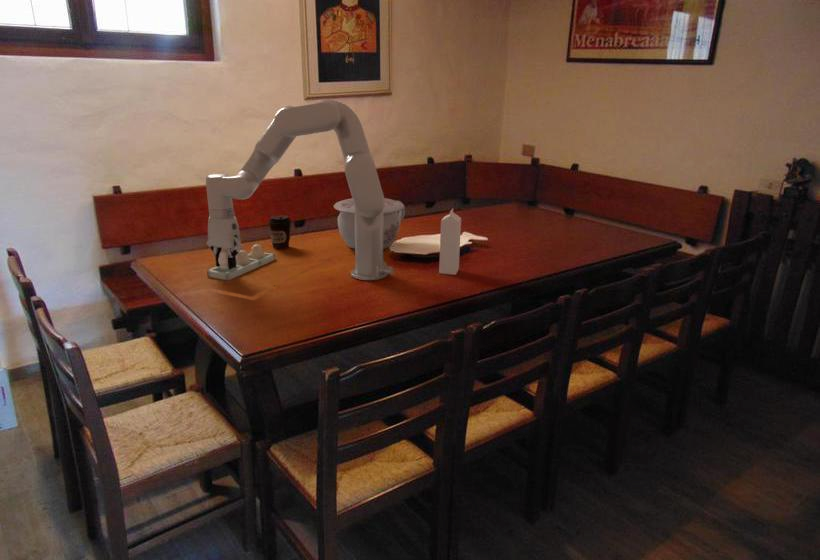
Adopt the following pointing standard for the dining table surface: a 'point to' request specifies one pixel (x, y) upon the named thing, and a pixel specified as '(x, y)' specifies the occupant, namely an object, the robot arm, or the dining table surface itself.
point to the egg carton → (240, 268)
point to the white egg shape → (223, 259)
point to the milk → (450, 244)
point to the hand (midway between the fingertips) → (226, 266)
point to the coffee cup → (280, 231)
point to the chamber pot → (389, 220)
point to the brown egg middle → (242, 258)
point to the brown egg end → (256, 252)
